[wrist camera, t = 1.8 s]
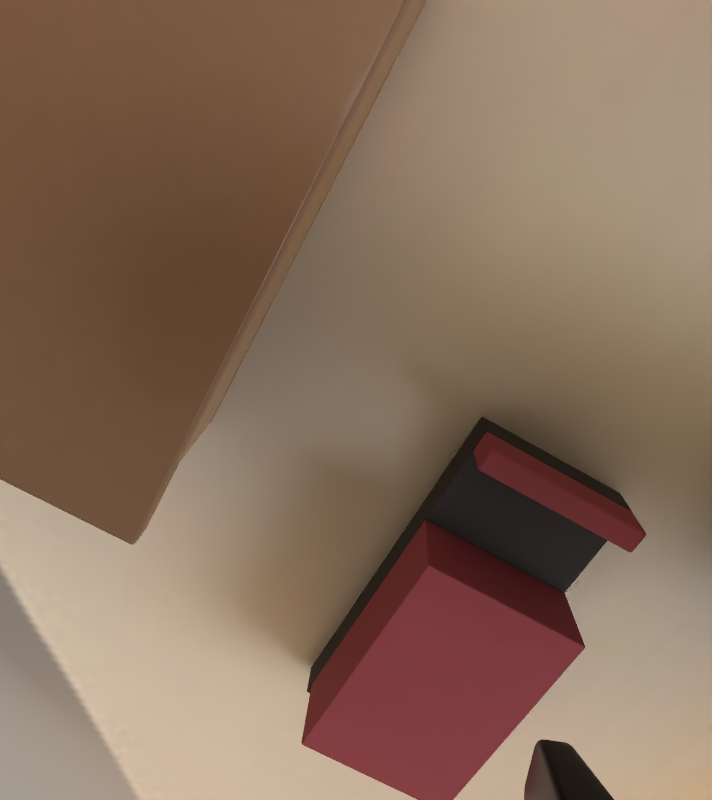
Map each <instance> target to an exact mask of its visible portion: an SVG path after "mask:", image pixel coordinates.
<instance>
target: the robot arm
mask: <svg viewBox="0 0 712 800" xmlns="http://www.w3.org/2000/svg"><path fill="white" fill-rule="evenodd" d="M524 800H614V799H613V798H612V796H611V795H610V794H609V793H608V791H607V790H606V789H605V787H604V786H603V785H602V784H601V782H600V781H599V780H598V779H597V777H596V776H595V775H594V773H593V772H592V771H591V770H590V768H589V767H588V766H587V765H586V763H585V762H584V761H583V759H582V758H581V757H580V756H579V754H578V753H577V752H576V751H575V749H574V748H573V747H572V746H571V745H569V744H568V743H564V742H557V741H550V740H539V741H538V742H537V744H536V745H535V748H534V752H533V756H532V760H531V764H530V768H529V772H528V776H527V780H526V784H525V793H524Z"/></svg>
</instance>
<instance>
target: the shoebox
mask: <svg viewBox="0 0 712 800" xmlns="http://www.w3.org/2000/svg"><path fill="white" fill-rule="evenodd" d="M425 1H426V0H0V479H1V480H3V481H5V482H7V483H9V484H11V485H13V486H15V487H17V488H19V489H21V490H23V491H25V492H27V493H29V494H31V495H33V496H35V497H37V498H39V499H41V500H43V501H45V502H47V503H49V504H51V505H53V506H55V507H57V508H59V509H61V510H63V511H65V512H67V513H69V514H71V515H73V516H75V517H77V518H79V519H81V520H83V521H85V522H87V523H89V524H91V525H93V526H95V527H97V528H99V529H101V530H103V531H105V532H107V533H109V534H111V535H113V536H116V537H118V538H120V539H122V540H124V541H126V542H128V543H130V544H134V543H136V541H137V540H138V539H139V537H140V536H141V535H142V533H143V532H144V530H145V529H146V527H147V525H148V523H149V521H150V519H151V517H152V515H153V513H154V511H155V509H156V507H157V505H158V503H159V501H160V499H161V498H162V496H163V494H164V492H165V490H166V488H167V486H168V484H169V482H170V480H171V478H172V476H173V474H174V472H175V470H176V468H177V466H178V464H179V462H180V460H181V459H182V458H183V457H184V455H185V454H186V453H187V451H188V450H189V449H190V447H191V446H192V445H193V444H194V442H195V441H196V440H197V438H198V437H199V436H200V435H201V433H202V432H203V431H204V429H205V428H206V427H207V426H208V424H209V423H210V422H211V420H212V418H213V416H214V414H215V413H216V411H217V409H218V407H219V405H220V403H221V401H222V399H223V397H224V395H225V393H226V391H227V389H228V387H229V385H230V383H231V381H232V379H233V377H234V375H235V373H236V371H237V369H238V367H239V365H240V364H241V362H242V360H243V358H244V356H245V354H246V352H247V350H248V348H249V346H250V344H251V342H252V340H253V338H254V336H255V334H256V332H257V330H258V328H259V326H260V324H261V322H262V320H263V318H264V316H265V315H266V313H267V311H268V309H269V307H270V305H271V303H272V301H273V299H274V297H275V295H276V293H277V291H278V289H279V287H280V285H281V283H282V281H283V279H284V277H285V275H286V273H287V271H288V269H289V267H290V266H291V264H292V262H293V260H294V258H295V256H296V254H297V252H298V250H299V248H300V246H301V244H302V242H303V240H304V238H305V236H306V234H307V232H308V230H309V228H310V226H311V224H312V222H313V220H314V218H315V217H316V215H317V213H318V211H319V209H320V207H321V205H322V203H323V201H324V199H325V197H326V195H327V193H328V191H329V189H330V187H331V185H332V183H333V181H334V179H335V177H336V175H337V173H338V171H339V169H340V168H341V166H342V164H343V162H344V160H345V158H346V156H347V154H348V152H349V150H350V148H351V146H352V144H353V142H354V140H355V138H356V136H357V134H358V132H359V130H360V128H361V126H362V124H363V122H364V120H365V119H366V117H367V115H368V113H369V111H370V109H371V107H372V105H373V103H374V101H375V99H376V97H377V95H378V93H379V91H380V89H381V87H382V85H383V83H384V81H385V79H386V77H387V75H388V73H389V71H390V70H391V68H392V66H393V64H394V62H395V60H396V58H397V56H398V54H399V52H400V50H401V48H402V46H403V44H404V42H405V40H406V38H407V36H408V34H409V32H410V30H411V28H412V26H413V24H414V22H415V21H416V19H417V17H418V15H419V13H420V11H421V9H422V7H423V5H424V3H425Z"/></svg>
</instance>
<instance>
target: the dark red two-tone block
mask: <svg viewBox="0 0 712 800" xmlns="http://www.w3.org/2000/svg"><path fill="white" fill-rule="evenodd" d="M645 536H646V532H645V531H644V529H643V528H642V526H641V525H640V524H639V522H638V521H637V519H636V518H635V516H634V515H633V513H632V512H631V509H630V508H629V506H628V505H627V503H626V502H625V501H624V499H623V498H622V496H621V495H620V493H618V492H617V491H615V490H613V489H611V488H609V487H608V486H606V485H604V484H602V483H600V482H599V481H597V480H595V479H593V478H591V477H590V476H588V475H586V474H584V473H582V472H581V471H579V470H577V469H575V468H573V467H572V466H570V465H568V464H566V463H564V462H563V461H561V460H559V459H557V458H555V457H554V456H552V455H550V454H548V453H546V452H545V451H543V450H541V449H539V448H537V447H536V446H534V445H532V444H530V443H528V442H527V441H525V440H523V439H521V438H519V437H518V436H516V435H514V434H512V433H510V432H509V431H507V430H505V429H503V428H501V427H500V426H498V425H496V424H494V423H492V422H491V421H489V420H487V419H485V418H483V417H482V418H481V419H480V420H479V422H478V423H477V425H476V426H475V428H474V429H473V430H472V432H471V433H470V435H469V436H468V438H467V439H466V441H465V442H464V444H463V445H462V447H461V448H460V450H459V451H458V453H457V454H456V456H455V457H454V458H453V460H452V461H451V463H450V464H449V466H448V467H447V469H446V470H445V472H444V473H443V475H442V476H441V478H440V479H439V481H438V482H437V484H436V485H435V487H434V488H433V489H432V491H431V492H430V494H429V495H428V497H427V498H426V500H425V501H424V503H423V504H422V506H421V507H420V509H419V510H418V512H417V513H416V515H415V516H414V517H413V519H412V520H411V522H410V523H409V525H408V526H407V528H406V529H405V531H404V532H403V534H402V535H401V537H400V538H399V540H398V541H397V543H396V544H395V546H394V547H393V548H392V550H391V551H390V553H389V554H388V556H387V557H386V559H385V560H384V562H383V563H382V565H381V566H380V568H379V569H378V571H377V572H376V574H375V575H374V577H373V578H372V579H371V581H370V582H369V584H368V585H367V587H366V588H365V590H364V591H363V593H362V594H361V596H360V597H359V599H358V600H357V602H356V603H355V605H354V606H353V607H352V609H351V610H350V612H349V613H348V615H347V616H346V618H345V619H344V621H343V622H342V624H341V625H340V627H339V628H338V630H337V631H336V633H335V634H334V636H333V637H332V638H331V640H330V641H329V643H328V644H327V646H326V647H325V649H324V650H323V652H322V653H321V655H320V656H319V658H318V659H317V661H316V662H315V664H314V665H313V666H312V668H311V672H310V678H309V683H308V689H307V691H308V692H309V693H310V698H309V704H308V709H307V715H306V720H305V726H304V732H303V737H302V745H304V746H306V747H309V748H311V749H313V750H315V751H317V752H319V753H321V754H323V755H325V756H327V757H330V758H332V759H334V760H336V761H338V762H340V763H342V764H344V765H346V766H348V767H351V768H353V769H355V770H357V771H359V772H361V773H363V774H365V775H367V776H369V777H372V778H374V779H376V780H378V781H380V782H382V783H384V784H386V785H388V786H390V787H393V788H395V789H397V790H399V791H401V792H403V793H405V794H407V795H409V796H411V797H413V798H416V799H418V800H453V799H454V798H455V797H456V796H457V795H458V793H459V792H460V791H461V790H462V789H463V788H464V787H465V785H466V784H467V783H468V782H469V781H470V780H471V778H472V777H473V776H474V775H475V774H476V773H477V772H478V770H479V769H480V768H481V767H482V766H483V765H484V763H485V762H486V761H487V760H488V759H489V758H490V757H491V755H492V754H493V753H494V752H495V751H496V750H497V749H498V747H499V746H500V745H501V744H502V743H503V742H504V740H505V739H506V738H507V737H508V736H509V735H510V734H511V732H512V731H513V730H514V729H515V728H516V727H517V725H518V724H519V723H520V722H521V721H522V720H523V719H524V717H525V716H526V715H527V714H528V713H529V712H530V710H531V709H532V708H533V707H534V706H535V705H536V704H537V702H538V701H539V700H540V699H541V698H542V697H543V695H544V694H545V693H546V692H547V691H548V690H549V689H550V687H551V686H552V685H553V684H554V683H555V682H556V681H557V679H558V678H559V677H560V676H561V675H562V674H563V672H564V671H565V670H566V669H567V668H568V667H569V666H570V664H571V663H572V662H573V661H574V660H575V659H576V657H577V656H578V655H579V654H580V653H581V652H582V651H583V649H584V648H585V645H584V643H583V640H582V637H581V635H580V632H579V630H578V627H577V624H576V622H575V619H574V617H573V614H572V611H571V609H570V606H569V604H568V601H567V598H566V596H565V594H564V593H565V591H566V590H567V589H568V588H569V587H570V585H571V584H572V583H573V582H574V580H575V579H576V578H577V577H578V576H579V574H580V573H581V572H582V571H583V570H584V568H585V567H586V566H587V565H588V563H589V562H590V561H591V560H592V559H593V557H594V556H595V555H596V554H597V552H598V551H599V550H600V549H601V548H602V546H603V545H604V544H605V543H606V541H607V540H608V541H610V542H612V543H613V544H615V545H617V546H619V547H621V548H623V549H624V550H626V551H628V552H632V551H633V550H634V549H635V548H636V547H637V545H638V544H639V543H640V542H641V541H642V540H643V538H644V537H645Z"/></svg>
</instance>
